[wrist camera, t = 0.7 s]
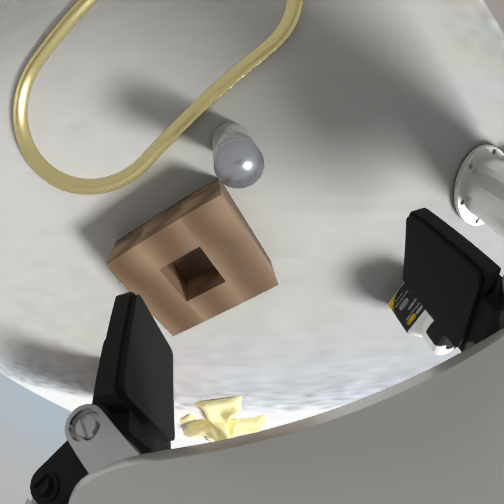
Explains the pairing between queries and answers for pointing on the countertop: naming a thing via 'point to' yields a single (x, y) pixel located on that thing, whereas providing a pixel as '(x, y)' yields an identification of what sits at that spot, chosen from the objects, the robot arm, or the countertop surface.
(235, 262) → the bore block
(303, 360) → the countertop surface
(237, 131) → the pin
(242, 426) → the cloth
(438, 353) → the medicine bottle
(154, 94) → the countertop surface
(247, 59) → the wavy rubber band
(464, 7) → the countertop surface
